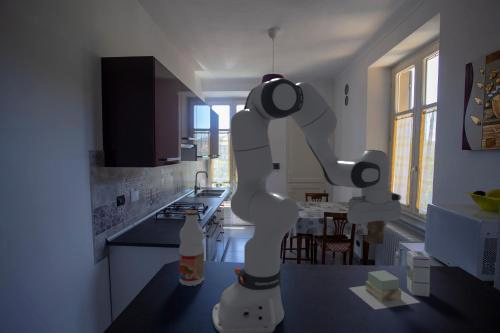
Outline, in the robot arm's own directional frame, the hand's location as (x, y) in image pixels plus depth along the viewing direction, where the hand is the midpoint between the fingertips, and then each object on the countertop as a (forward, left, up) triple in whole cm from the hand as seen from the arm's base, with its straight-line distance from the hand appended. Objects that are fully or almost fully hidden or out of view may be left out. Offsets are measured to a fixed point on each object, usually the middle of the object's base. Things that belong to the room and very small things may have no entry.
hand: (373, 233), depth 94 cm
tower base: (+2, -3, -22) cm, 22 cm away
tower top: (+2, -3, -18) cm, 18 cm away
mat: (+2, -3, -22) cm, 22 cm away
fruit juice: (-64, +23, -22) cm, 71 cm away
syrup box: (+16, -4, -22) cm, 28 cm away
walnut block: (0, 0, -3) cm, 3 cm away
